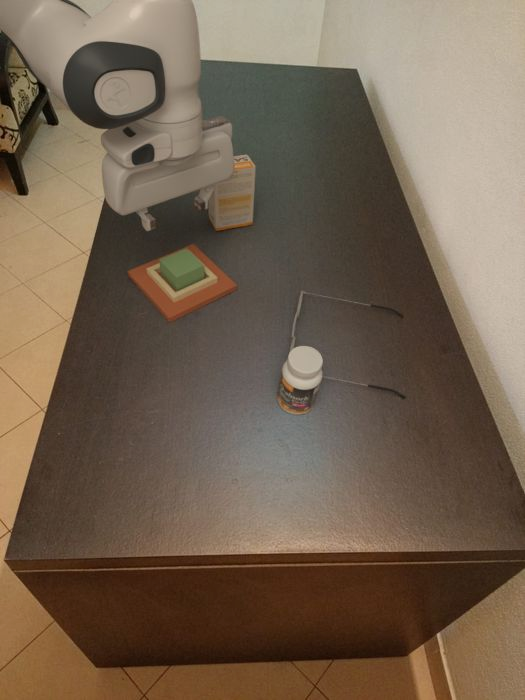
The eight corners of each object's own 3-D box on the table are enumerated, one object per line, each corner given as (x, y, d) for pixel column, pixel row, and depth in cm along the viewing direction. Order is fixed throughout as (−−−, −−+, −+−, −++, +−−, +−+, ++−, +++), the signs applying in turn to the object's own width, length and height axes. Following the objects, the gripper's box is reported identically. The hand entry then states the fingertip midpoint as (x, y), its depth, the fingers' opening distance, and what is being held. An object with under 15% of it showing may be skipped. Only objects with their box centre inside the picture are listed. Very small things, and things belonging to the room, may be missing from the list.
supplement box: (245, 212, 99) (248, 153, 89) (253, 225, 97) (256, 166, 86) (207, 218, 97) (206, 158, 87) (214, 232, 94) (214, 171, 84)
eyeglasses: (297, 298, 84) (300, 282, 81) (401, 318, 83) (409, 302, 80) (282, 378, 72) (286, 362, 69) (403, 402, 72) (413, 387, 69)
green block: (177, 293, 81) (176, 277, 78) (160, 275, 83) (158, 259, 81) (204, 280, 83) (204, 265, 80) (187, 263, 86) (186, 247, 83)
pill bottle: (271, 409, 69) (278, 368, 61) (283, 379, 72) (290, 337, 64) (309, 421, 68) (320, 381, 60) (318, 390, 71) (330, 349, 64)
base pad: (169, 322, 78) (168, 312, 76) (128, 276, 84) (126, 265, 83) (237, 289, 84) (237, 279, 82) (193, 248, 91) (193, 238, 89)
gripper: (218, 104, 69) (218, 189, 80) (88, 138, 60) (107, 228, 71) (244, 122, 66) (240, 207, 77) (111, 160, 57) (128, 251, 68)
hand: (176, 218), depth 74 cm, fingers open, 8 cm apart
